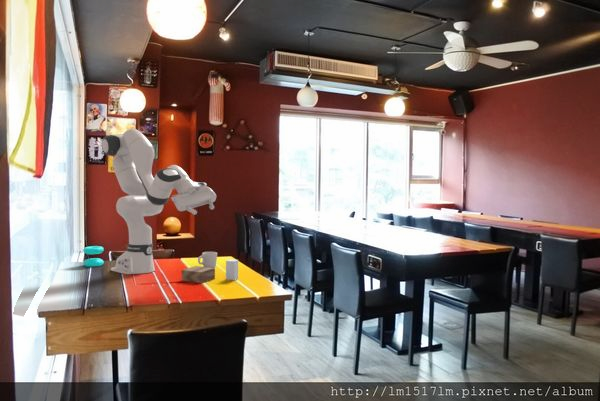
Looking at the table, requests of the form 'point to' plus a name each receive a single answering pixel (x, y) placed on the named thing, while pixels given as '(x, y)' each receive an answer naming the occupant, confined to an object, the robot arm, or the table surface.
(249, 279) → the table surface
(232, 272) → the block
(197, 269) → the base
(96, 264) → the donuts
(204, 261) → the cup
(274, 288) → the table surface
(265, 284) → the table surface
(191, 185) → the robot arm
